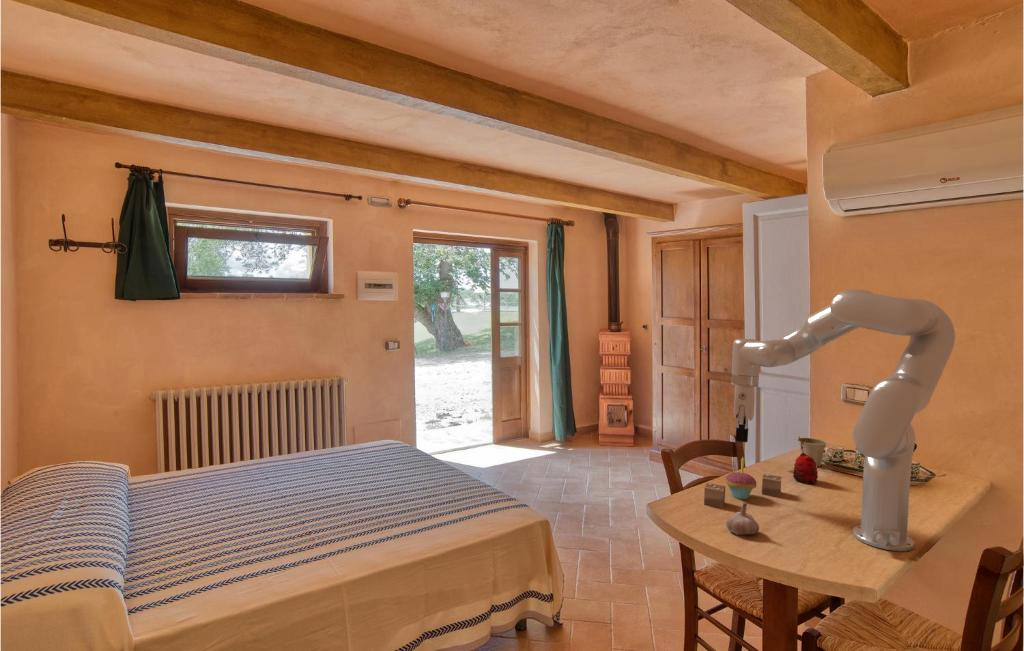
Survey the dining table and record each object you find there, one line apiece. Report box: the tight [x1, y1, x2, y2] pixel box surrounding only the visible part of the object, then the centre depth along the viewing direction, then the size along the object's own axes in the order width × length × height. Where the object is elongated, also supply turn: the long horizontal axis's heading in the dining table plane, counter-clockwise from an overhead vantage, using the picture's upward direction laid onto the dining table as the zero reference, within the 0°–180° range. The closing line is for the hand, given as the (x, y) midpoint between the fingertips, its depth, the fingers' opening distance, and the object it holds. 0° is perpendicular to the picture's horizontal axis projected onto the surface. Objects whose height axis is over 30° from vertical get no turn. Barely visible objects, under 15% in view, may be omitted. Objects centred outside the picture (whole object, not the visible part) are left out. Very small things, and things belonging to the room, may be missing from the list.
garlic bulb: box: [725, 501, 760, 536], centre depth 137 cm, size 8×7×8 cm
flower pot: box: [796, 437, 828, 467], centre depth 195 cm, size 9×9×9 cm
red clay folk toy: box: [792, 436, 819, 485], centre depth 177 cm, size 8×7×15 cm
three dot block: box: [703, 482, 726, 509], centre depth 156 cm, size 5×5×5 cm
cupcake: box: [725, 457, 757, 500], centre depth 162 cm, size 9×8×12 cm
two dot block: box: [761, 473, 782, 498], centre depth 166 cm, size 5×5×5 cm
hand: (741, 441), depth 162 cm, fingers closed
